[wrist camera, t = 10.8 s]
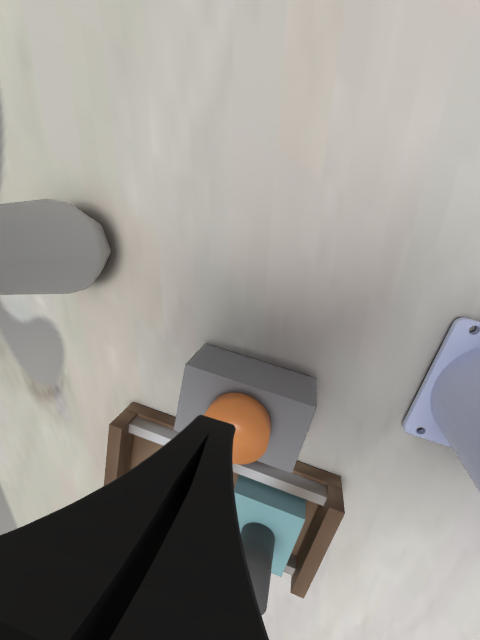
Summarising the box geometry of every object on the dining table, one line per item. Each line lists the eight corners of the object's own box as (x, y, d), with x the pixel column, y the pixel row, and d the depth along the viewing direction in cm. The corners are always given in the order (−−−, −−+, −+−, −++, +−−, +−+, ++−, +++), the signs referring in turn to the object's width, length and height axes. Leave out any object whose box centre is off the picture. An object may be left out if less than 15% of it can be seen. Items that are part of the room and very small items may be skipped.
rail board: (340, 476, 22) (344, 513, 19) (304, 556, 25) (303, 598, 22) (132, 401, 24) (109, 424, 22) (123, 482, 27) (101, 511, 25)
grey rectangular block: (316, 378, 20) (316, 407, 17) (295, 436, 22) (291, 473, 18) (205, 343, 21) (185, 364, 18) (193, 401, 23) (173, 430, 20)
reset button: (284, 380, 20) (276, 418, 16) (268, 428, 21) (258, 473, 17) (227, 362, 20) (206, 394, 16) (216, 410, 22) (194, 450, 18)
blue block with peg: (306, 494, 21) (303, 587, 16) (283, 549, 23) (274, 649, 18) (240, 469, 22) (215, 550, 17) (224, 524, 24) (197, 613, 19)
